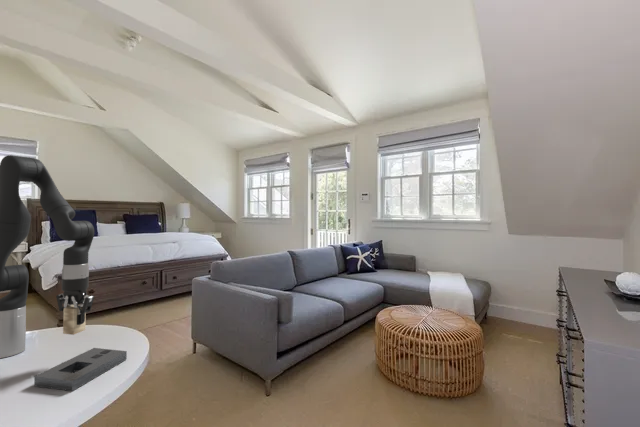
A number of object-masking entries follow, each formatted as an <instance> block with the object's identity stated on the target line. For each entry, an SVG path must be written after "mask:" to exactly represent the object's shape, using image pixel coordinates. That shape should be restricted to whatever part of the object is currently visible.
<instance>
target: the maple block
mask: <svg viewBox="0 0 640 427" xmlns="http://www.w3.org/2000/svg"><path fill="white" fill-rule="evenodd" d="M80 309H81V310H82V307H80ZM86 314H87V312H86V313H85V321H84V323H83V324H80V325H77V315H78V314H77V309H75V308H74V306H71V307H68V308H64V313H63V319H62V320H63V322H62V324H63V325H62V331H63V332H62V333H63V334H64V335H72V336H74V335H76V334H79V333H81V332H84V331H86V325H87V324H86V322H87V321H86V319H87V318H86V317H87V316H86Z"/></svg>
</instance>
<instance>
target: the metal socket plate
mask: <svg viewBox="0 0 640 427" xmlns="http://www.w3.org/2000/svg"><path fill="white" fill-rule="evenodd" d="M127 354H128V353H127V350H116V349H110V348H109V349H108V348H100V347H99V348H98V347H93V348H91V349H88V350H86V351H84V352H82V353H80V354H78V355H76V356H74V357H71V358H69V359H68V360H66V361H63V362H61V363H59V364H56V365H55V366H54V367H51V368H48V369H47V370H45V371H42V372H40V373H39V374H36V375H34V380H33V381H34V382H33V383H34V387H39V388H46V389H47V388H48V389H54V390H55V389H56V390H62V391H69V392H73V391H75V390H77V389H79V388H80V387H82V386H83V385H85V384H88V383H89V382H90V381H92V380H94V379H95V378H98V377H99V376H101V375H102V374H104V373H105V372H108V371H109V370H110V369H112V368H115V367H116V366H118V365H119V364H122V363H123V362H125V361H126V360H127V357H128V356H127Z"/></svg>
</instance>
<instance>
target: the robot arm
mask: <svg viewBox="0 0 640 427" xmlns="http://www.w3.org/2000/svg"><path fill="white" fill-rule="evenodd" d="M21 182H22V183H24V182H25V183H33V184H35V185H36V186H37V187H38V189H39V190H40V195H39V204H40V206H41V208H42V209H43V211H44V212H45V214H47V216H48V217H49V218H50V219H51V220H52V224H53V226H54V230H55V231H56V234H57V236H58V237H59V238H60V239H62V240H64V241H66V242H73V241H74V242H73V245H71V246H70V247H67V248H65V249H64V250H63V254H62V255H63V256H62V257H63V258H62V260H63V261H62V270H61V291H63V293H60V294H57V295H56V301H57V306H58V310H59V311H60V312H63V314H64V308H68V307H71V306H74V308H75V309H77V314H78V315H77V325H80V324H83V323H84V321H85V313H86V314H87V312H88V313H89V312H90V311H92V306H93V302H94V299H95V296H94V295H91V296H90V295H88V292H87V290H88V289H89V284H90V277H89V276H90V266H89V252H90V249H91V246H92V243H93V240H94V236H95V227H94V225H93V223H91V221H89V220H73V219H74V218H75V216H76V211H75V209H74V208H73V207H72V206H71V205H70V203H69V202H68V201H67V199H65V198H64V197H63V195H62V194H61V193H60V190H59V189H58V187H57V185H56V184H55V182H54V180H53V178H52V177H51V174H50V173H49V171H48V169H47V167H46V166H45V164H44V163H43V162H42V161H41V160H39V159H38V158H35V157H27V156H19V155H13V154H11V155H10V154H9V155H4V157H2V159H1V161H0V292H7V291H9V293H7V294H6V295H5V296H3V297H1V298H0V359H1V358H2V359H4V358H7V357H12V356H15V355H19V354H21V353H22V352H23V353H24V351H25V350H26V341H27V339H26V337H27V336H26V335H27V334H26V333H27V330H26V329H27V328H26V327H27V300H28V292H29V291H28V289H29V281H30V280H29V279H30V278H29V277H30V276H29V269H28V267H27V266H26V265H24V264H14V265H13V264H12V265H6V263H7V261H8V259H9V257H10V255H11V254H12V253H13V252H14V251H15V250H16V249H17V248H18V247H19V246H20V245H21V244H22V243H23V242H24V241H25V239H26V238H28V236H29V235H30V234H29V233H30V229H31V221H32V216H31V213H30V211H29V210H28V208H27V206H26V205H25V204H24V202H23V200H22V199H21V196H20V183H21ZM80 307H82V310H81V309H80Z"/></svg>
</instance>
